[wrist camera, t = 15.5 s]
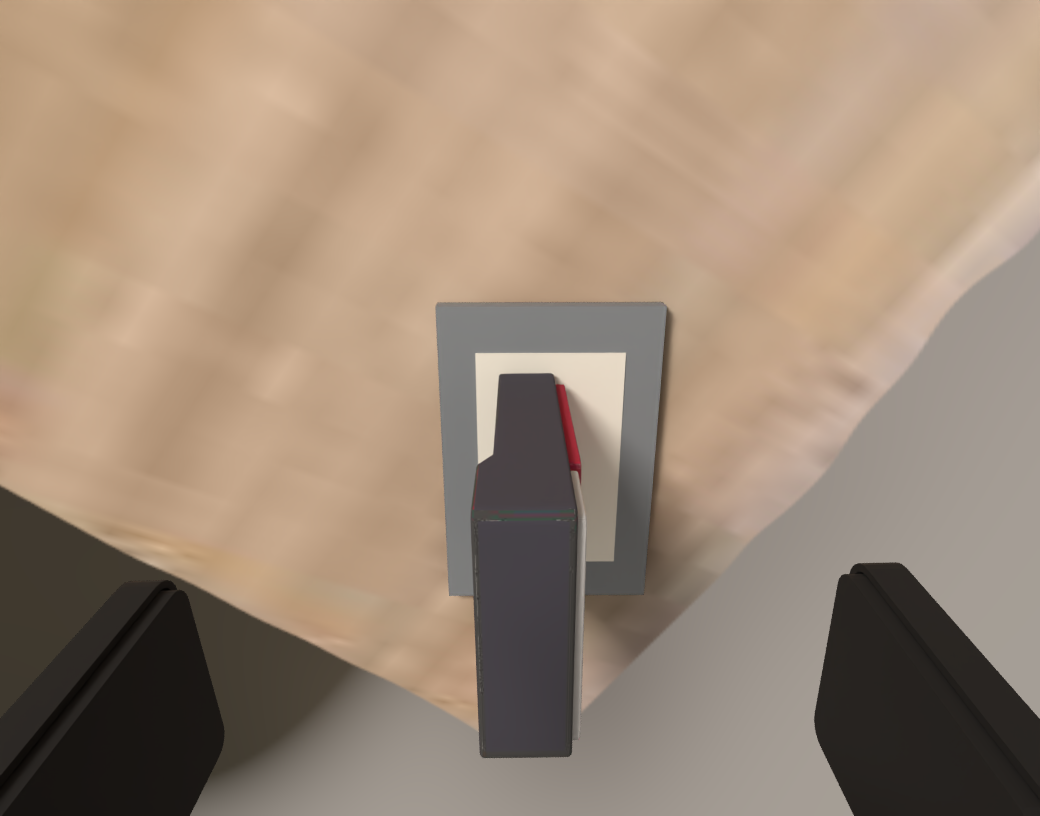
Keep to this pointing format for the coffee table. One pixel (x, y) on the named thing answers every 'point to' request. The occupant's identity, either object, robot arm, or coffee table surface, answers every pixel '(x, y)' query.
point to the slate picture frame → (594, 411)
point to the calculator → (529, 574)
